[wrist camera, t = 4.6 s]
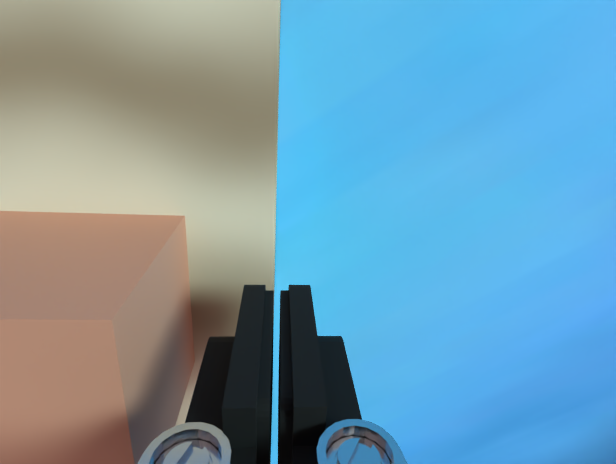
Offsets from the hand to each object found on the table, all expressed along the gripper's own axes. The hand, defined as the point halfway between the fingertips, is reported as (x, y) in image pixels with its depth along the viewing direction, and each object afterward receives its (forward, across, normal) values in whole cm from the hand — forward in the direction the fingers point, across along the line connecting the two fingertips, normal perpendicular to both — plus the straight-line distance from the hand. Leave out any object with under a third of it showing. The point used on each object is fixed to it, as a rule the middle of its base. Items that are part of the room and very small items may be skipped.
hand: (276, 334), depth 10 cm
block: (+2, +5, 0) cm, 5 cm away
